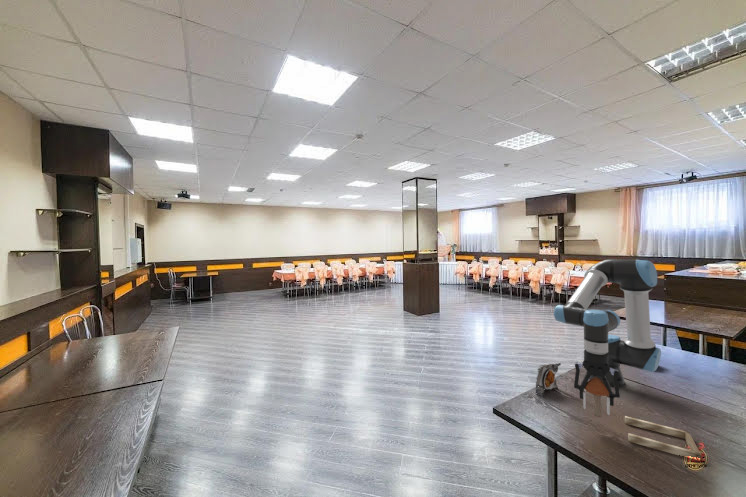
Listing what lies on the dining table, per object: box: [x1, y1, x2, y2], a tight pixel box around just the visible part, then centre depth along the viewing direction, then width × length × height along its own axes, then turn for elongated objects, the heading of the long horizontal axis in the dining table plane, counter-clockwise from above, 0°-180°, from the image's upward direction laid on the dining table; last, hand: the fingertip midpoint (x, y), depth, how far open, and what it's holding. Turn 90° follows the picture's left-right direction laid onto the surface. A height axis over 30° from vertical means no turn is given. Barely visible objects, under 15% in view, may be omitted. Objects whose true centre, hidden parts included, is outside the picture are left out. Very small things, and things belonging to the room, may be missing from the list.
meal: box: [535, 363, 562, 398], centre depth 146 cm, size 15×4×13 cm, turn 122°
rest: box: [624, 415, 702, 459], centre depth 109 cm, size 18×14×3 cm
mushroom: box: [584, 377, 609, 418], centre depth 116 cm, size 8×8×15 cm
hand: (596, 409), depth 116 cm, fingers closed on mushroom, 7 cm apart
